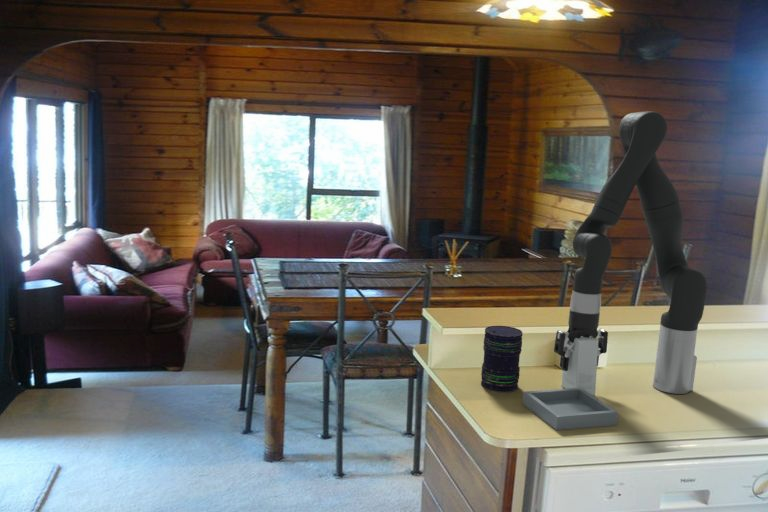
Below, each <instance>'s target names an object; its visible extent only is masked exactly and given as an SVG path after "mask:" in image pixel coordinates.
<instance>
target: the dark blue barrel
mask: <svg viewBox="0 0 768 512" xmlns="http://www.w3.org/2000/svg"><path fill="white" fill-rule="evenodd" d="M523 334H524V333H523V331H522V330H521V329H518V328H516V327H513V326H507V325H490V326H486V327H485V329H484V338H483V346H482V347H483V352H484V353H483V363H482V364H481V374H480V376H481V377H480V379H481V381H480V386H481V387H482V388H484V389H486V390H488V391H492V392H497V393H511V392H515V391H517V390H518V389H519V384H518V383H519V380H520V356H521V352H522V347H523Z"/></svg>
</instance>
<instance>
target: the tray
mask: <svg viewBox="0 0 768 512" xmlns="http://www.w3.org/2000/svg"><path fill="white" fill-rule="evenodd" d="M522 397H523V398H522V405H523V406H525V407H526V408H527V409H528V410H530V411H531V412H532V413H534V414H535V415H536V416H537V417H539V419H541V420H542V421H544V422H545V423H546V424H548V425H549V426H550V427H551V428H552V429H553V430H555V431H562V430H574V429H585V428H596V427H609V426H617V425H618V418H619V411H617V409H614V408H613V407H612V406H610V405H608V404H606V403H605V402H604V401H602V400H601V399H599V398H597V397H596V396H595V395H594V396H593V395H591V394H590V393H588V392H587V391H585V390H583V389H582V388H569V389H565V388H557V389H555V388H554V389H544V390H543V389H542V390H540V389H539V390H527V391H523V395H522Z"/></svg>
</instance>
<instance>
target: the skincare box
mask: <svg viewBox="0 0 768 512" xmlns="http://www.w3.org/2000/svg"><path fill="white" fill-rule="evenodd" d="M568 339H569V338H568V337H566V340H565V342H566V341H567V340H568ZM598 341H599V340H598V338H596V339H595V338H587V337H584V338H583V339H578V338H575V339H574V342H575V346H574V347H575V348H574V351H572V352H571V354H570V355H569V356H568V357H569V364H568V371H564V370H562V374H561V375H562V377H561V387H562V388H563V389H569V388H582V389H583V390H585V391H587V392H588V393H590V394H591V395H593V396H594V397H595V396H596V384H597V371H598V370H597V369H598V366H597V355H598ZM565 342H564V344H565ZM572 344H573V343H572V342H569V345H570V346H571V345H572Z"/></svg>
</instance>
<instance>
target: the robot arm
mask: <svg viewBox="0 0 768 512" xmlns="http://www.w3.org/2000/svg"><path fill="white" fill-rule="evenodd" d="M618 126H619V127H618V135H619V141H620V143H621V146H622V149H623V151H624V153H625V156H624V158H623V160H622V161H621V163H619V165H618V167H617V168H616V169H615V171H614V172H613V173H612V174H611V175H610V176H609V178H608V179H607V180H606V182H605V183H604V185H603V186H602V188H601V190H600V192H599V194H598V196H597V198H596V201H595V202H594V205H593V207H592V210H591V212H590V213H589V214H588V216H587V217H586V218H585V220H584V221H583V222H582V224H580V226H579V227H578V229H577V230H576V231H575V233H574V236H573V240H572V249H573V252H574V253H575V255H577V256H579V257H581V258H583V259H585V260H584V262H583V263H584V264H583V265H582V267H579V268H577V269H576V270H575V272H574V276H573V286H572V291H571V292H572V293H571V297H570V302H569V303H570V304H569V314H568V323H567V324H568V329H567V330H566V331H561V330H558V329H557V330H556V333H555V334H556V335H555V341H554V346H553V347H554V348H553V351H554V353H555V354H557V355H558V356H560V357H559V358H560V359H559V361H560V362H559V367H560V368H561V370H562V371H563V370H564V371H568V364H569V357H568V356H569V355H570V354H571V352H572V351H574V348H575V347H574V346H575V342H574V339H575V338H578V339H583V338H584V337H587V338H595V339H597V340H599V341H598V355H597V367H598V366H599V359H600V356H601V354H606V353H607V352H608V351H607V350H608V337H609V332H608V331H607V330H604V329H603V328H599V324H600V316H601V315H600V314H601V305H602V288H603V277H604V275H605V273H606V271H607V267H608V265H609V262H610V260H611V256H612V251H613V250H612V242H611V240H610V238H609V237H608V236H607V235H605V234H604V233H605V231H607V229H608V228H614V227H615V226H617V224H618V223H619V221H620V218H621V216H622V214H623V213H624V210H625V208H626V205H627V203H628V201H629V198H630V196H631V195H632V193H633V190H634V189H635V187H636V190H637V194H638V197H639V200H640V205H641V210H642V212H643V216H644V220H645V223H646V227H647V230H648V233H649V237H650V238H649V239H650V240H651V244H652V247H653V250H654V254H655V259H656V260H655V261H656V265H657V271H658V272H657V273H658V279H659V285H660V287H661V289H662V291H663V293H664V294H665V295H666V296H668V297H669V298H670V302H669V303H670V304H669V307H668V310H667V311H665V312H663V313H662V314H661V316H660V325H659V333H658V338H657V339H658V340H657V347H656V348H657V349H656V357H655V365H654V373H653V381H652V382H653V383H652V386H653V387H654V388H655V389H656V390H658V391H661V392H663V393H669V394H676V395H678V394H679V395H685V394H689V392H692V391H693V390H694V383H695V375H696V369H697V360H698V357H697V356H696V355H695V352H696V351H695V350H696V344H697V343H696V342H697V336H698V335H697V334H698V327H699V323H700V321H701V320H702V318H703V315H704V310H705V303H706V298H707V293H708V282H707V279H706V277H705V275H704V274H703V273H702V272H701V271H700V270H696V269H694V268H692V267H690V266H689V264H688V262H687V260H686V256H685V253H684V250H683V245H682V234H683V229H684V213H683V208H682V205H681V201H680V197H679V194H678V192H677V189H676V187H675V186H674V184H673V182H672V181H671V180H670V178H669V176H668V175H667V173H666V172H665V171H664V170H663V168H662V167H661V164H660V163H659V160H658V158H657V154H656V153H657V151H658V150H659V148H660V146H661V145H662V143H663V142H664V140H665V138H666V135H667V134H668V133H667V132H668V124H667V120H666V118H665V117H664V116H663V114H661V113H660V112H657V111H652V110H649V111H637V112H630V113H628V114H626V115H625V116H624V117H622V119H621V121H620V123H619V125H618ZM598 328H599V329H598ZM566 337H568V338H569V339H568V340H567V341H566V342H565V340H566ZM564 342H565V344H564ZM569 342H572V343H573V344H572V345H571V346H570V345H569Z"/></svg>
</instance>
